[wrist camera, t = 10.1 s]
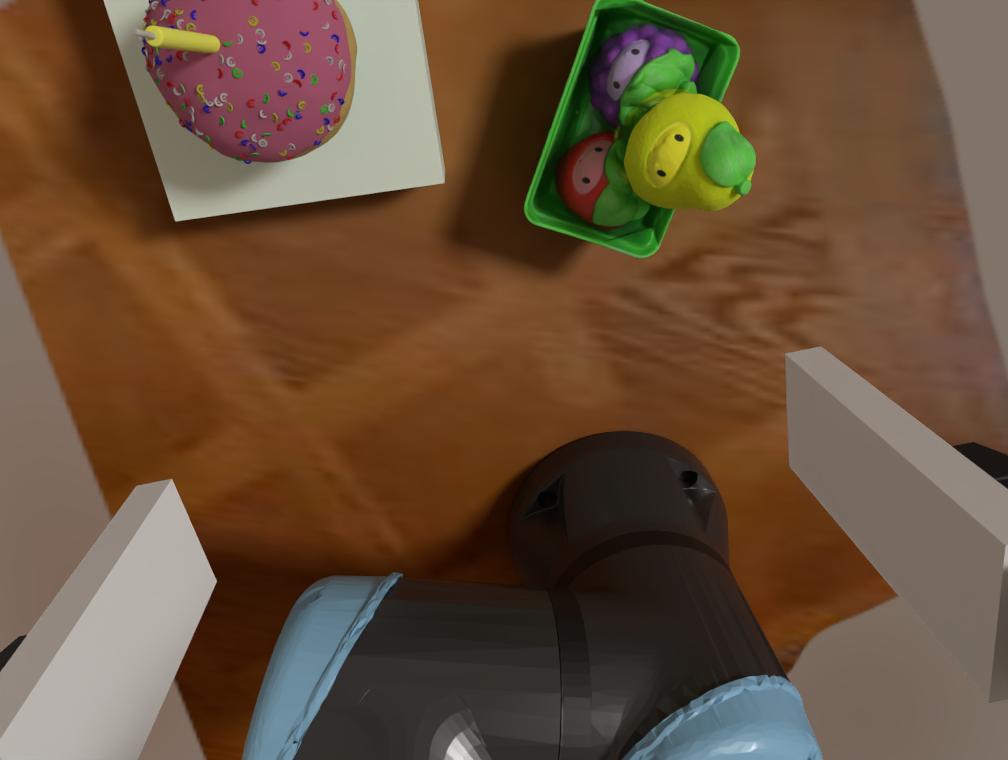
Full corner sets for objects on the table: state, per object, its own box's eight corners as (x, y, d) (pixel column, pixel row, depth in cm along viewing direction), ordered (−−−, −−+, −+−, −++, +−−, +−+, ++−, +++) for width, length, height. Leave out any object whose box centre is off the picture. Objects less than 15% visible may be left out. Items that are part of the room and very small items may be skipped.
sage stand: (444, 169, 42) (444, 183, 38) (199, 204, 42) (175, 221, 38) (398, -125, 36) (392, -143, 32) (110, -85, 35) (71, -98, 32)
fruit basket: (581, -12, 38) (629, -27, 28) (733, 47, 40) (829, 54, 30) (511, 199, 43) (530, 252, 32) (650, 244, 44) (709, 308, 34)
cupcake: (159, 93, 35) (30, 122, 25) (218, -90, 32) (102, -148, 22) (327, 178, 38) (277, 238, 27) (397, 14, 35) (373, 7, 24)
